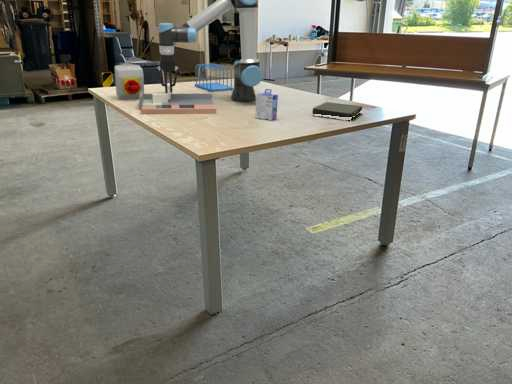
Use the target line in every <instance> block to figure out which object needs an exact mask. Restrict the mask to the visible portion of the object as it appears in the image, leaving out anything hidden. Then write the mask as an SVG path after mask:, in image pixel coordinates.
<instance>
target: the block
mask: <svg viewBox="0 0 512 384" xmlns="http://www.w3.org/2000/svg"><path fill="white" fill-rule="evenodd" d="M151 94H152V97H153V103H168V93H166V92H165V91H163V92H162V91H157V92H155V91H153V92H152V93H151Z"/></svg>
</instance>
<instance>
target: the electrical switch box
mask: <svg viewBox="0 0 512 384" xmlns="http://www.w3.org/2000/svg"><path fill="white" fill-rule="evenodd" d="M144 76H145V75H144V70H143V67H141V66H140V65H139V64H134V63H133V64H132V63H122V64H117V65H115V66H114V78H115V91H116V92H115V94H116V96H117V98H118V100H120V101H124V100H127V101H128V100H139V95H140V93H141V91H144V92H145V81H144V80H145V78H144Z"/></svg>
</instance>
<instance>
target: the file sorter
mask: <svg viewBox="0 0 512 384" xmlns="http://www.w3.org/2000/svg"><path fill="white" fill-rule="evenodd" d="M198 66H199V69H198V70H197V67H198ZM201 67H203V68H202V71H204V70H205V68H206V71H205V72H206V73H205V74H206V75H205V76H206V77H205V79H206V80H205V79H204V74H202V83H201ZM209 69H210V71H209V82H208V70H209ZM214 70H215V82H212V71H214ZM217 70H218V71H219V74H218V75H219V77H218V78H219V79H218V82H217ZM221 70H222V83H221ZM224 70H226V84H225V74H224V73H225V71H224ZM229 70H230V85H229V81H228V78H229V75H228V74H229V73H228V72H229ZM197 71H198V73H197ZM197 74H198V76H197ZM232 74H233V72H232V68H230V67H226V66H223V65H219V64H215V63H201V64H196V66H195V83H194V87H196V88H198V87H199V89H201V90H204V91H206V90H207V92H209V91H210V92H209V93H215V92H214V91H216V92H225V91H228V90H230V91H233V88H234V87H232V86H233V85H232V84H233V83H232V81H233V80H232V79H233V78H232V77H233V75H232ZM197 77H198V79H199V83H198V79H197ZM204 80H205V81H206V82H205V81H204ZM228 85H229V86H228Z"/></svg>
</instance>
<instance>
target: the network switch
mask: <svg viewBox="0 0 512 384" xmlns="http://www.w3.org/2000/svg"><path fill="white" fill-rule="evenodd" d="M361 110H362V111H363V106H362V105H355V104H349V103H348V104H347V103H337V102H329V101H326V102H325V101H324V102H323V103H321V104H319V105H316V106H315V107H313V108H312V115H313V114H321V115H331V116H339V117H353V116H356V115H357V114H358V113H359V112H360V111H361Z"/></svg>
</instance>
